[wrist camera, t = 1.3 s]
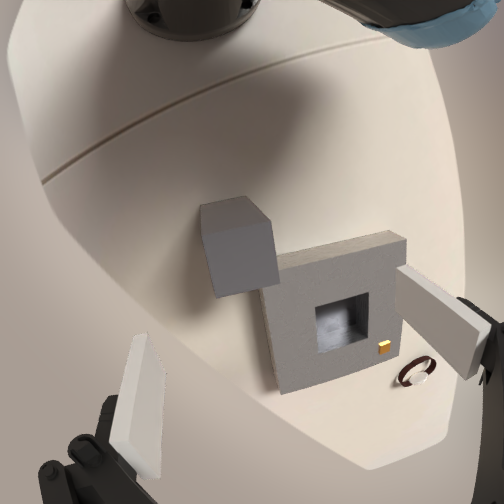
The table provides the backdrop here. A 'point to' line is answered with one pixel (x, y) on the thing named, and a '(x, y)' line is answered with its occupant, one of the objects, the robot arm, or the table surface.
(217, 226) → the plug
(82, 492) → the robot arm
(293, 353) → the socket
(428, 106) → the table surface
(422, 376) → the watch
